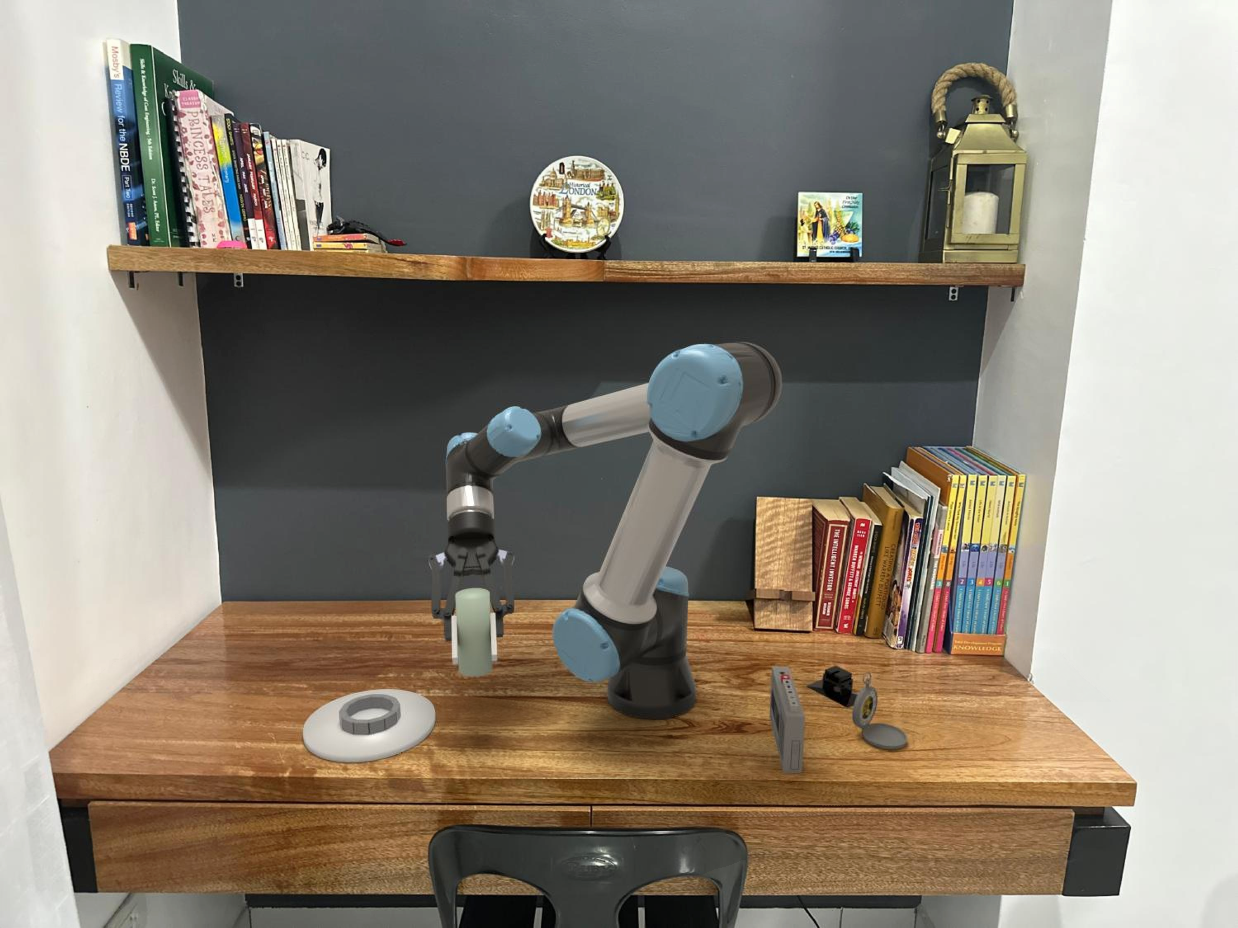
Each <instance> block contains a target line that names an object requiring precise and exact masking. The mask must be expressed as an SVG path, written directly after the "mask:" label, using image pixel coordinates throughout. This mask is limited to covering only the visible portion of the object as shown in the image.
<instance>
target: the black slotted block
mask: <svg viewBox="0 0 1238 928" xmlns="http://www.w3.org/2000/svg"><path fill="white" fill-rule="evenodd" d="M853 683H854V679H853V673H852V672H850V671H848V670H846V669H844V668H842V667H839V666H838V665H833V666H831V667H828V668H825V669H824V673H822V679H820V680H817V681H815V682H811V683H810V684H807V685H806V686H805V687H807V688H808V689H809V690H812V691H814V692H816V693H818V694H819V695H821V696H824V697H825V698H828V699H830V700H831V701H833V702H835V703H837V704H839V705H841V706H843V707H844V708H846V709H849V708H851V707H852V708H853V706H854V703H855V700H856V697H857V695H858V694H859V693H858V692H855V691H854V690H853V686H854V684H853Z"/></svg>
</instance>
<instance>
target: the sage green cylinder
mask: <svg viewBox="0 0 1238 928" xmlns="http://www.w3.org/2000/svg"><path fill="white" fill-rule="evenodd" d="M455 597H456V608H455V614H456V615H455V616H456V617H457V635H458V672H459V674H461V675H462V676H465V677H472V678H474V677H481V676H485V675H487V674H489V673H490V672H492V670H493V661H492V649H491V623H490V613H491V603H490V592H489V591H488V590H486V588H481V587H471V588H465V589H462V590H461V589H460V591H459V592H457V593H456V595H455Z"/></svg>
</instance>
